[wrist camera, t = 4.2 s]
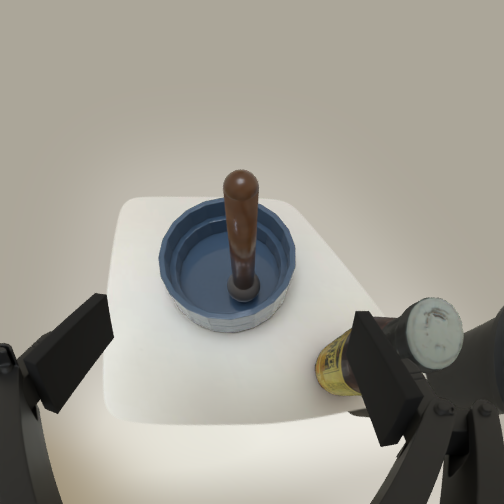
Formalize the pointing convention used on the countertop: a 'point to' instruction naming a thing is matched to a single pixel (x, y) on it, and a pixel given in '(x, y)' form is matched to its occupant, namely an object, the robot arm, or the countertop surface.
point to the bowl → (224, 267)
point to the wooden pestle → (242, 233)
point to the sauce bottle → (399, 344)
